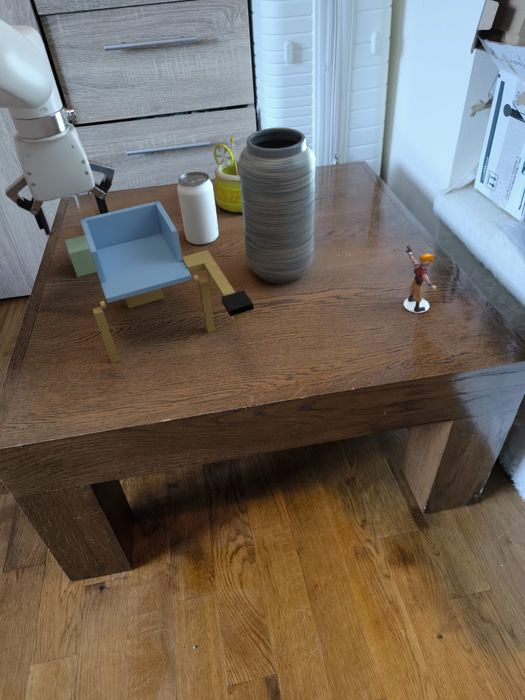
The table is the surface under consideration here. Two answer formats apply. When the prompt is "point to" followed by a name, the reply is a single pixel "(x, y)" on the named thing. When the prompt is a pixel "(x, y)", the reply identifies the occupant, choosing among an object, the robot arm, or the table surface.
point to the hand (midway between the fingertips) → (76, 224)
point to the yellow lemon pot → (228, 181)
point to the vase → (278, 203)
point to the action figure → (418, 283)
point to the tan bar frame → (148, 298)
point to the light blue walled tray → (149, 256)
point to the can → (198, 208)
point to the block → (81, 256)
